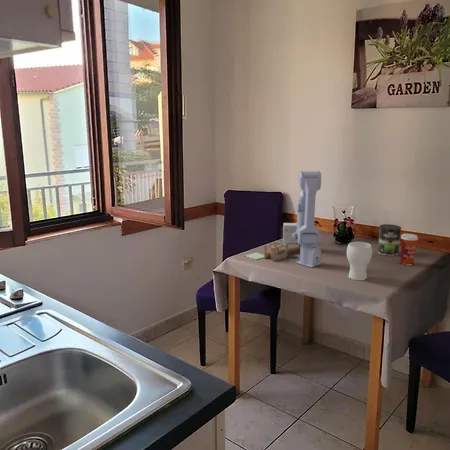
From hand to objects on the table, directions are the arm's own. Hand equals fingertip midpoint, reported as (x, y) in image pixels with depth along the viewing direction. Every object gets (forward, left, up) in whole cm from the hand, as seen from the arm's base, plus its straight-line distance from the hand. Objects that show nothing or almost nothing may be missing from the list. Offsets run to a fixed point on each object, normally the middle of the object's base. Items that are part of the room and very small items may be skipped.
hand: (301, 248), depth 240 cm
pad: (+8, +26, -1) cm, 27 cm away
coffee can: (-33, -29, -1) cm, 44 cm away
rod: (0, +10, -1) cm, 10 cm away
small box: (+14, -7, -1) cm, 16 cm away
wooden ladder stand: (0, +20, -1) cm, 20 cm away
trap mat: (-5, +13, -1) cm, 14 cm away
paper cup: (-48, -20, -1) cm, 52 cm away
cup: (-43, +14, -1) cm, 45 cm away
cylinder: (0, +21, -1) cm, 21 cm away
